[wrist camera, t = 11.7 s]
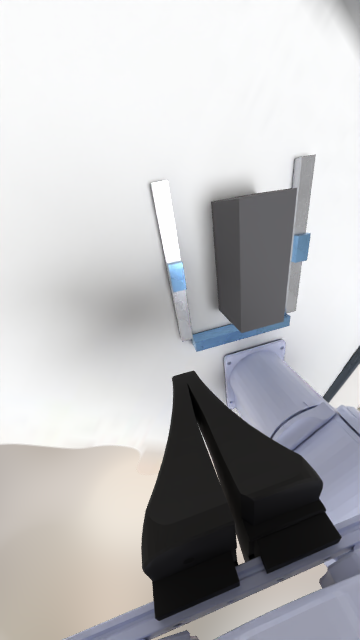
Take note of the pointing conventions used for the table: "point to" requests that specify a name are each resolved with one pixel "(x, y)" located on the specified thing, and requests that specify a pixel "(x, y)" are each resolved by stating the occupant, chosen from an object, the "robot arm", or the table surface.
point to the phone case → (346, 385)
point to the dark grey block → (253, 256)
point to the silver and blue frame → (176, 271)
